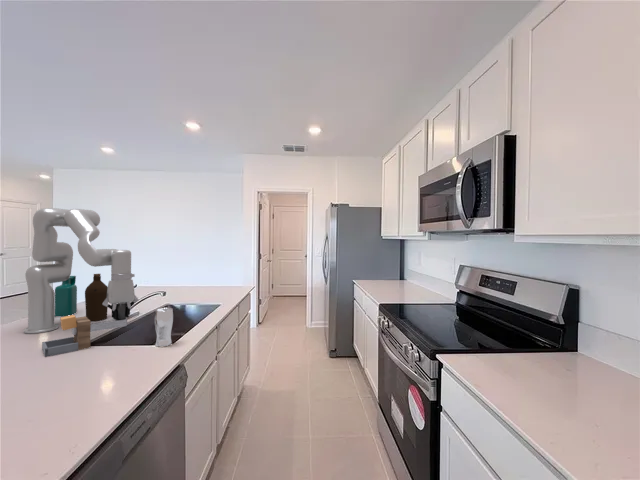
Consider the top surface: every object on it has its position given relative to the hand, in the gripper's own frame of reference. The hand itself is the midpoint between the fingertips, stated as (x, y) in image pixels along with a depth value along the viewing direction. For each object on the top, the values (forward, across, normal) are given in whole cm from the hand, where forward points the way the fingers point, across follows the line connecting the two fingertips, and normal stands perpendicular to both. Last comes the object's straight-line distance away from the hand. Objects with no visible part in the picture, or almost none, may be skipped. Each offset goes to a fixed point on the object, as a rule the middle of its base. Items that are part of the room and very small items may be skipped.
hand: (120, 317), depth 138 cm
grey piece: (+4, +8, 0) cm, 8 cm away
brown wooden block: (+9, +14, 0) cm, 17 cm away
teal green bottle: (+10, +11, -69) cm, 70 cm away
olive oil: (+10, +1, -45) cm, 46 cm away
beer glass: (+9, -11, +22) cm, 26 cm away
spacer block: (+1, +18, 0) cm, 18 cm away
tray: (+9, +21, 0) cm, 23 cm away
